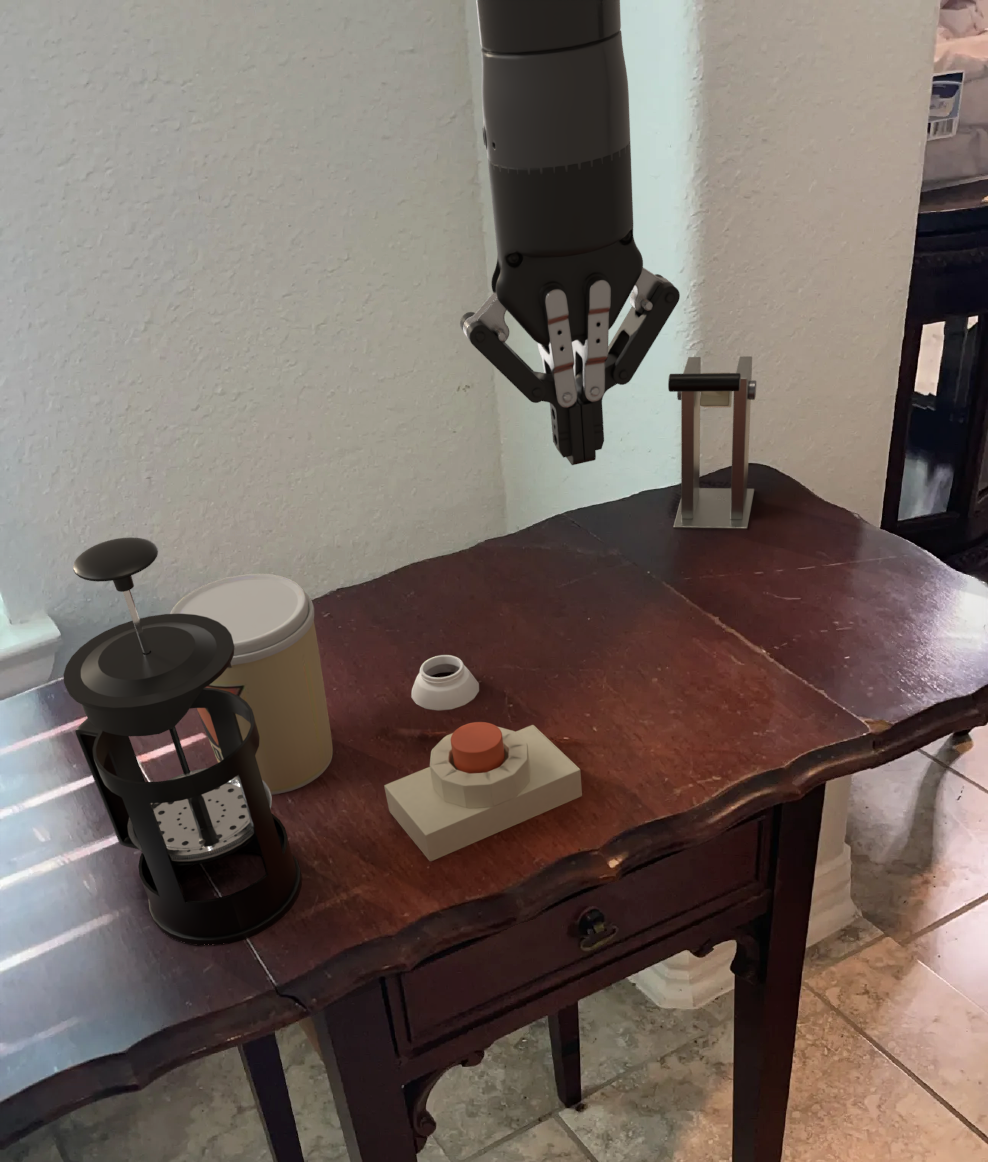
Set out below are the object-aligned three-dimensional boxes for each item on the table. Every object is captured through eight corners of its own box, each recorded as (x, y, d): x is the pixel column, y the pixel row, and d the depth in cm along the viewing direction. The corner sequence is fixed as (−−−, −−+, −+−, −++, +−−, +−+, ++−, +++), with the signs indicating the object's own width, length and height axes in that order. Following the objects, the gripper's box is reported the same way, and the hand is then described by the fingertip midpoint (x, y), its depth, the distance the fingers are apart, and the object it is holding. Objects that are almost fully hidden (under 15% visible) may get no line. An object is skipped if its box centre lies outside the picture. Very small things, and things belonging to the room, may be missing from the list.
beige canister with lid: (189, 756, 89) (140, 606, 81) (307, 705, 92) (271, 555, 84) (245, 822, 83) (198, 666, 75) (369, 765, 86) (337, 609, 78)
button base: (535, 750, 85) (530, 701, 83) (582, 796, 81) (579, 746, 78) (388, 811, 82) (378, 762, 79) (430, 862, 78) (421, 812, 75)
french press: (338, 859, 79) (254, 517, 63) (262, 963, 73) (149, 613, 57) (182, 825, 83) (67, 496, 68) (97, 921, 77) (-51, 584, 61)
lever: (738, 399, 89) (740, 362, 88) (667, 400, 90) (669, 363, 90) (749, 407, 100) (751, 374, 99) (685, 407, 101) (687, 375, 101)
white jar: (465, 674, 93) (402, 695, 92) (461, 639, 91) (396, 660, 90) (492, 708, 89) (427, 730, 88) (488, 672, 87) (421, 694, 86)
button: (489, 738, 81) (486, 715, 79) (514, 762, 78) (511, 739, 77) (445, 756, 80) (441, 733, 79) (468, 781, 78) (465, 758, 76)
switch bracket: (746, 541, 103) (752, 384, 95) (673, 539, 105) (672, 385, 96) (754, 501, 108) (760, 349, 100) (683, 500, 110) (683, 350, 101)
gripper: (450, 181, 63) (490, 506, 74) (703, 131, 64) (704, 459, 76) (420, 148, 68) (462, 456, 80) (653, 104, 70) (661, 413, 81)
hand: (580, 457), depth 78 cm, fingers closed
